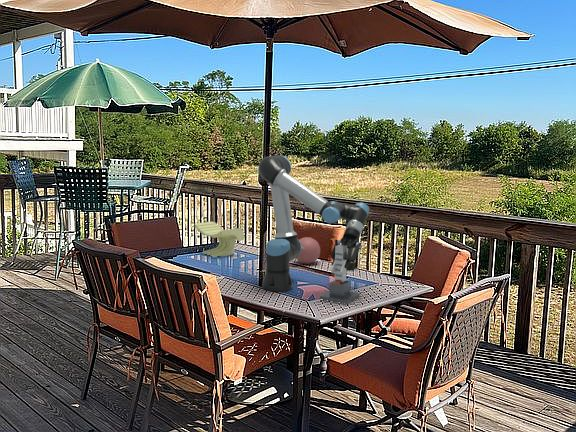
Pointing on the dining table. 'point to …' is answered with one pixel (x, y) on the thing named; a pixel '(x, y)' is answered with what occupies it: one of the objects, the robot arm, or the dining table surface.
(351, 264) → the wine bottle
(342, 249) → the column
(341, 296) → the stand
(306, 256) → the pink rounded ovoid
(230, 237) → the slatted curved stool
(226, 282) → the dining table surface
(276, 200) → the robot arm
